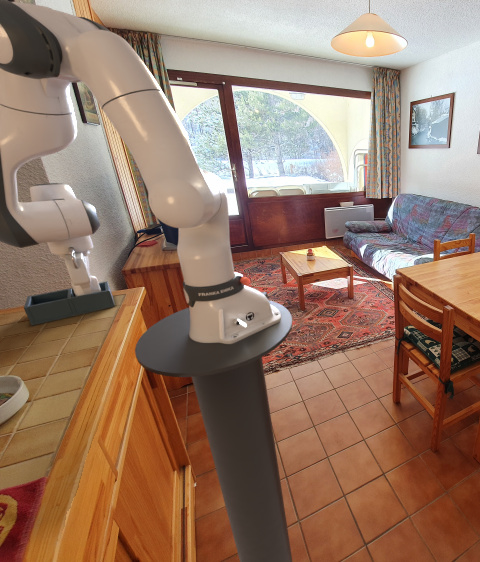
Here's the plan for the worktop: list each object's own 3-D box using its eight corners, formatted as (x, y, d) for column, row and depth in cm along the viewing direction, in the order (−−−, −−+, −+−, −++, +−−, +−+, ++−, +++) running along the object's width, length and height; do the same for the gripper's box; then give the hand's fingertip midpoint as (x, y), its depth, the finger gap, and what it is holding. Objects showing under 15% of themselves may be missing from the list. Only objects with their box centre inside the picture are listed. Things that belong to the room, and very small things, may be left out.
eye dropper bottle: (102, 304, 92) (88, 266, 87) (77, 308, 89) (62, 269, 85) (105, 298, 95) (93, 261, 91) (82, 302, 93) (67, 264, 88)
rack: (112, 296, 99) (107, 281, 97) (115, 306, 93) (109, 290, 90) (35, 313, 88) (27, 296, 86) (31, 325, 82) (23, 307, 80)
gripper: (86, 250, 80) (103, 298, 85) (85, 235, 94) (100, 277, 99) (53, 255, 76) (73, 305, 82) (56, 238, 90) (73, 282, 96)
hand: (87, 289), depth 91 cm, fingers closed on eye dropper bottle, 4 cm apart
